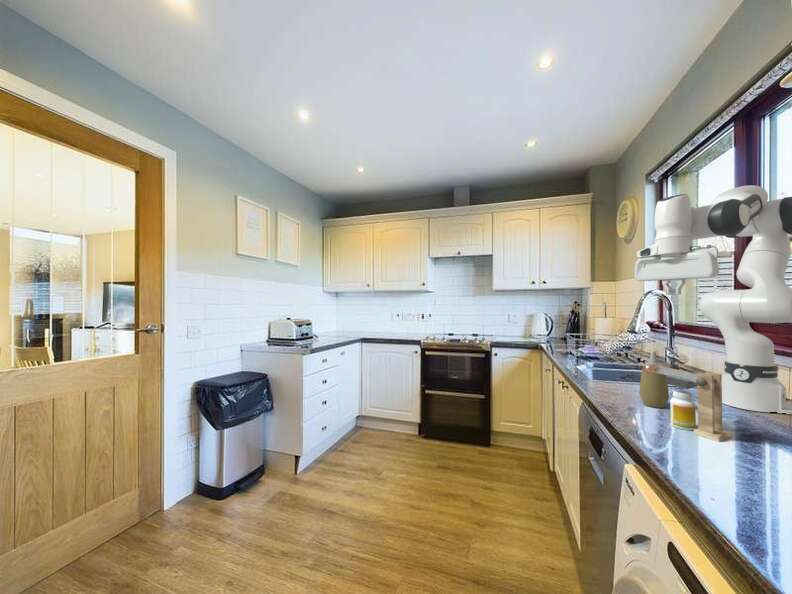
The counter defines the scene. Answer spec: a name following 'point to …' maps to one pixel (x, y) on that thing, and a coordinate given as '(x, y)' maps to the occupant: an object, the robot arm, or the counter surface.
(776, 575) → the counter surface
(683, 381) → the lever
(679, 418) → the supplement bottle
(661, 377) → the squeeze bottle
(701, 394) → the press stand
